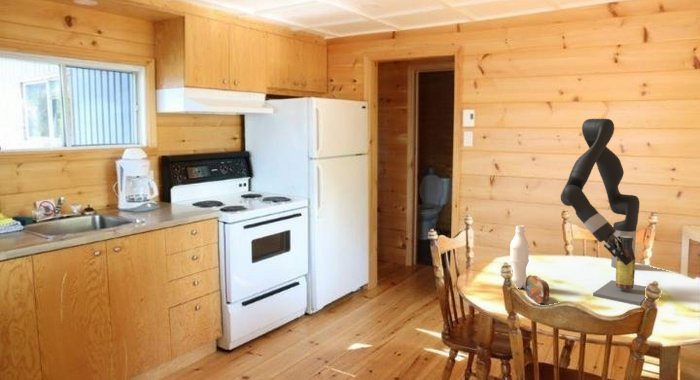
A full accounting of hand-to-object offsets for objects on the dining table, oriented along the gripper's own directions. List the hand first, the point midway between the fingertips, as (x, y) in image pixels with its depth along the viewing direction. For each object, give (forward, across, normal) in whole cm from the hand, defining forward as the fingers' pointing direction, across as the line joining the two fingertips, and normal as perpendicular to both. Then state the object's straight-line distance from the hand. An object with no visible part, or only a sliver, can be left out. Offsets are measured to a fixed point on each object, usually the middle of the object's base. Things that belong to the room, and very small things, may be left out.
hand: (630, 262), depth 194 cm
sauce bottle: (+6, 0, +9) cm, 11 cm away
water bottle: (-16, -19, +34) cm, 42 cm away
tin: (-7, -29, +26) cm, 40 cm away
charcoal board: (+8, 0, +10) cm, 13 cm away
